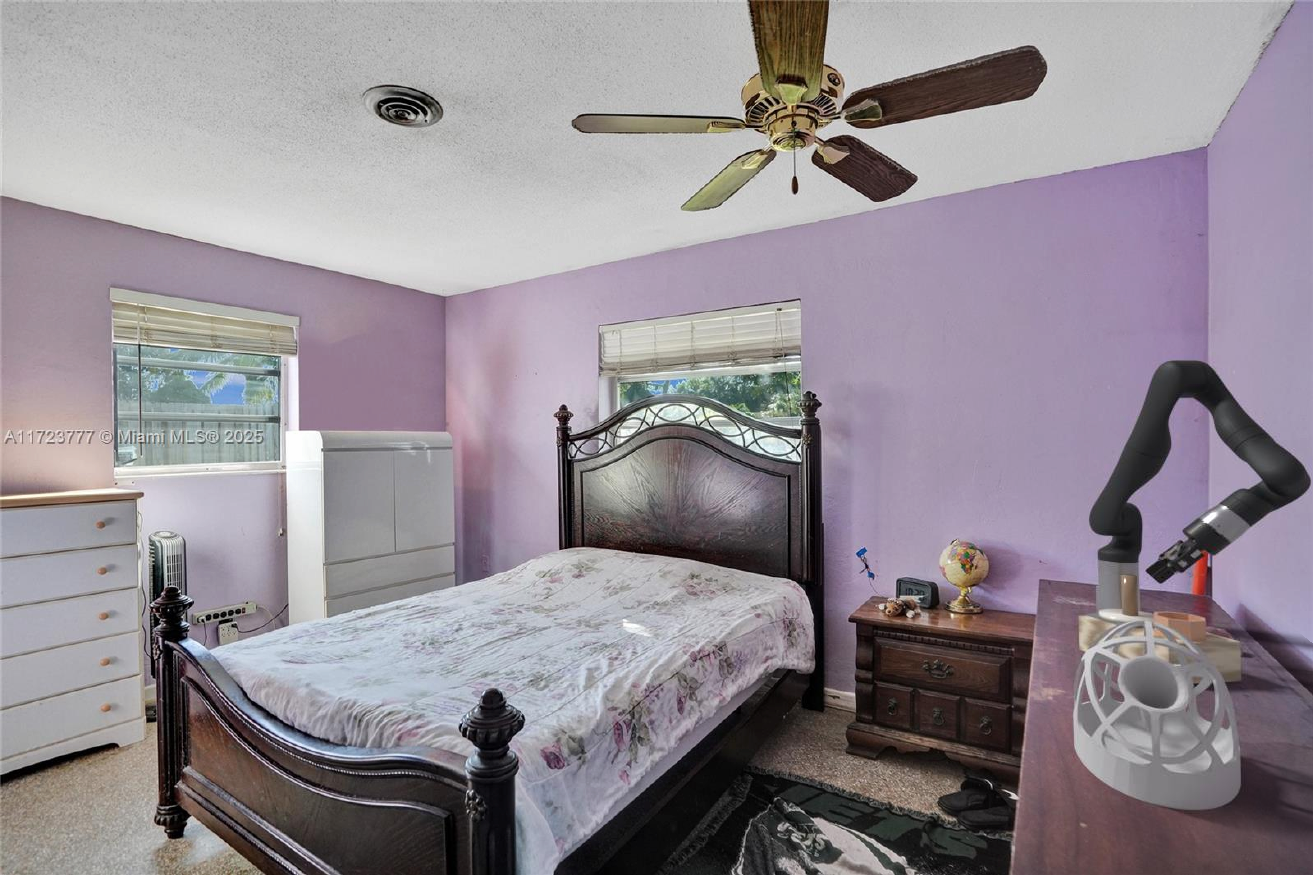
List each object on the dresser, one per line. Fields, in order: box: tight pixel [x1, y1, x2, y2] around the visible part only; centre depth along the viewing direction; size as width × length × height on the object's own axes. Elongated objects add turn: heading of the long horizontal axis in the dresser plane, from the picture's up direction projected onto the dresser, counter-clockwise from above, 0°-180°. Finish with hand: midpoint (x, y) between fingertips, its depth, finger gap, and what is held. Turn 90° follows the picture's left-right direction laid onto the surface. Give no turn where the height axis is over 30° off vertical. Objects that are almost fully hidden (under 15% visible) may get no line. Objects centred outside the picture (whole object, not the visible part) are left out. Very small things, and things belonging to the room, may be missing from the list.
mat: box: [1085, 612, 1154, 628], centre depth 149 cm, size 12×12×1 cm
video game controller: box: [1206, 626, 1244, 657], centre depth 151 cm, size 10×5×7 cm, turn 85°
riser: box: [1078, 614, 1242, 684], centre depth 143 cm, size 24×16×8 cm, turn 6°
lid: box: [1099, 574, 1154, 626], centre depth 149 cm, size 12×12×10 cm
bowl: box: [1153, 611, 1207, 641], centre depth 136 cm, size 8×8×4 cm
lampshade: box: [1072, 621, 1242, 811], centre depth 96 cm, size 20×26×20 cm
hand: (1152, 577), depth 147 cm, fingers open, 8 cm apart
